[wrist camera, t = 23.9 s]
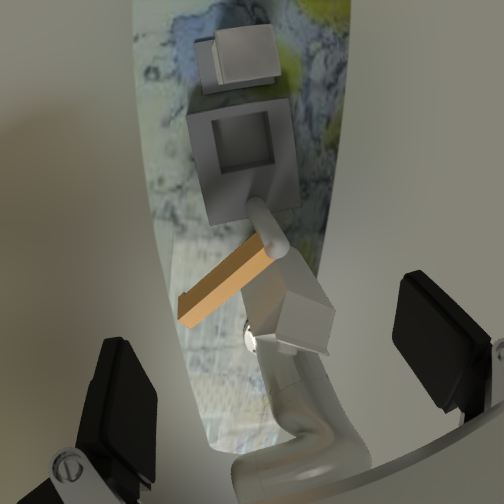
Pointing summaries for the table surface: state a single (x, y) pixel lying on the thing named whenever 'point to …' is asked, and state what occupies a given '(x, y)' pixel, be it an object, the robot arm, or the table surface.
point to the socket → (245, 157)
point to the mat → (210, 76)
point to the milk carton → (289, 306)
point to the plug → (245, 53)
